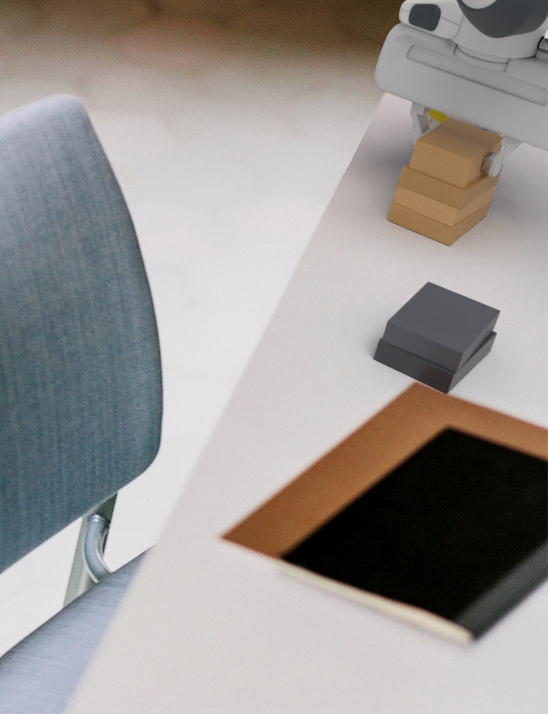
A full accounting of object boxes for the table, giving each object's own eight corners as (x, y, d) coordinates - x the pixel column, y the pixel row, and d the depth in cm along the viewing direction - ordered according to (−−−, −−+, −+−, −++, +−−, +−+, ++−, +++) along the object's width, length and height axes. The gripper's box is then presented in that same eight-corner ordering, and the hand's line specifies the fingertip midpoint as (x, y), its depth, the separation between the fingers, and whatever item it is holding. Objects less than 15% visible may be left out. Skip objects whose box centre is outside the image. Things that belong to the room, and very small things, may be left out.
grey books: (491, 350, 105) (505, 312, 102) (447, 394, 99) (461, 355, 97) (417, 317, 108) (430, 279, 106) (370, 357, 102) (382, 318, 100)
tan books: (486, 217, 125) (504, 164, 121) (449, 247, 119) (467, 192, 115) (424, 192, 128) (440, 140, 124) (385, 220, 122) (400, 166, 118)
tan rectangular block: (495, 164, 121) (504, 137, 119) (463, 189, 116) (472, 160, 114) (442, 144, 124) (450, 117, 122) (408, 167, 118) (416, 139, 117)
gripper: (617, 49, 108) (564, 187, 117) (415, -15, 117) (380, 118, 126) (593, 66, 104) (540, 207, 113) (386, -2, 113) (352, 134, 122)
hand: (454, 160), depth 119 cm, fingers closed on tan rectangular block, 6 cm apart
